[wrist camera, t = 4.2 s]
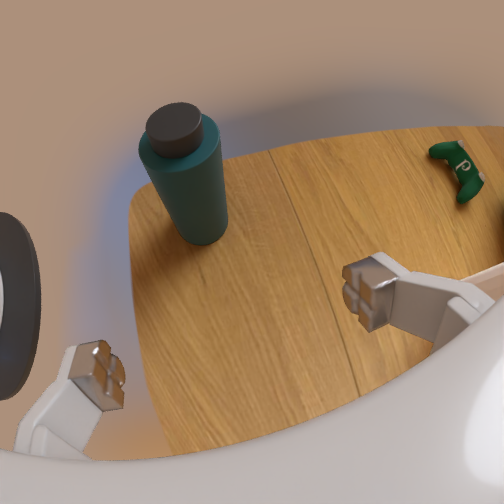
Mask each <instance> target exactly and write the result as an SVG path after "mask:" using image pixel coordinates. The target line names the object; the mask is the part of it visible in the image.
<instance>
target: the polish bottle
mask: <svg viewBox="0 0 504 504" xmlns="http://www.w3.org/2000/svg"><path fill="white" fill-rule="evenodd" d="M138 150H139V156H140V159H141V161H142V163H143V165H144V167H145V169H146V170H147V173H148V175H149V177H150V179H151V181H152V183H153V185H154V186H155V188H156V190H157V192H158V194H159V196H160V198H161V200H162V202H163V204H164V206H165V207H166V209H167V211H168V213H169V215H170V217H171V219H172V220H173V222H174V224H175V226H176V228H177V230H178V231H179V233H180V235H181V236H182V237H183V238H184V239H185V240H186V241H187V242H189V243H191V244H195V245H207V244H210V243H213V242H215V241H216V240H218V239H219V238H220V237H221V236H222V235H223V234H224V232H225V230H226V228H227V225H228V214H227V205H226V195H225V185H224V174H223V164H222V155H221V154H222V153H221V142H220V132H219V129H218V126H217V125H216V123H215V122H214V121H213V120H212V119H211V118H210V117H208V116H206V115H204V114H201V112H200V110H199V109H198V108H197V107H196V106H194V105H192V104H189V103H183V102H180V103H172V104H168V105H166V106H163V107H161V108H159V109H158V110H156V111H155V112H154V113H153V114H152V115H151V116H150V117H149V119H148V120H147V123H146V131H145V132H144V134H143V135H142V138H141V140H140V143H139V149H138Z"/></svg>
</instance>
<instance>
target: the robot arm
mask: <svg viewBox="0 0 504 504" xmlns="http://www.w3.org/2000/svg"><path fill="white" fill-rule="evenodd" d="M342 277H343V278H344V279H345V280H346V282H345V284H344V286H343V288H342V291H343V298H344V302H345V304H346V306H347V308H348V309H349V310H350V312H351V313H354V314H357V315H359V319H358V321H359V322H360V323H361V324H362V326H363V327H364V328H365V329H366V330H367V331H368V332H369V333H370V332H372V331H374V330H376V329H378V328H380V327H382V326H385V325H387V324H390V325H392V326H394V327H397V328H399V329H401V330H404V331H406V332H409V333H411V334H413V335H416V336H418V337H421V338H423V339H425V340H428V341H430V342H433V343H434V344H433V346H432V349H431V352H430V355H429V356H428V357H427V358H426V359H424V360H423V361H421V362H420V363H418V364H417V365H415V366H413V367H412V368H410V369H409V370H407V371H406V372H404V373H402V374H401V375H399V376H397V377H396V378H394V379H392V380H391V381H389V382H387V383H385V384H383V385H382V386H380V387H378V388H376V389H374V390H373V391H371V392H369V393H367V394H365V395H363V396H361V397H359V398H357V399H355V400H353V401H351V402H349V403H347V404H345V405H342V406H340V407H338V408H336V409H334V410H331V411H329V412H327V413H324V414H322V415H320V416H317V417H315V418H312V419H310V420H307V421H305V422H302V423H300V424H297V425H294V426H291V427H289V428H286V429H283V430H280V431H277V432H274V433H271V434H268V435H264V436H261V437H258V438H254V439H251V440H247V441H244V442H240V443H236V444H232V445H228V446H223V447H219V448H214V449H210V450H205V451H200V452H194V453H188V454H182V455H175V456H167V457H159V458H149V459H137V460H115V461H114V460H113V461H93V460H92V459H91V458H90V457H88V456H87V455H85V454H84V453H82V452H83V451H84V449H85V447H86V445H87V442H88V441H89V439H90V437H91V435H92V433H93V431H94V429H95V428H96V426H97V424H98V422H99V420H100V418H101V416H102V414H103V412H104V411H111V410H117V409H123V403H124V392H123V391H122V389H121V387H122V386H123V385H124V383H125V371H124V367H123V365H122V363H121V361H120V360H119V358H118V357H117V356H115V355H113V354H111V353H110V352H111V347H110V346H109V345H108V343H107V342H106V341H104V340H98V341H94V342H89V343H84V344H80V345H75V346H70V347H68V348H67V349H66V352H65V354H64V357H63V360H62V363H61V366H60V369H59V373H58V376H57V380H56V381H54V382H52V383H51V384H50V386H49V387H48V388H47V389H46V390H45V392H44V393H43V394H42V395H41V396H40V398H39V399H38V400H37V401H36V402H35V403H34V405H33V406H32V407H31V408H30V409H29V411H28V412H27V413H26V414H25V416H24V417H23V418H22V419H21V421H20V422H19V424H18V428H17V432H16V437H15V442H14V447H13V451H8V450H4V449H0V504H504V294H503V295H502V296H501V297H500V298H499V299H498V300H497V301H494V300H493V299H492V298H491V297H489V296H488V295H487V294H485V293H484V292H483V291H482V290H480V289H479V288H478V287H476V286H475V285H474V284H472V283H468V282H463V281H459V280H454V279H450V278H445V277H440V276H435V275H431V274H426V273H421V272H416V271H413V272H409V271H408V270H407V269H405V268H404V267H403V266H401V265H400V264H399V263H397V262H396V261H395V260H393V259H392V258H390V257H389V256H388V255H386V254H385V253H384V252H378V253H375V254H373V255H370V256H368V257H367V258H364V259H362V260H359V261H356V262H354V263H351V264H348V265H346V266H343V270H342ZM3 302H4V296H3V282H2V276H1V272H0V328H1V323H2V316H3Z"/></svg>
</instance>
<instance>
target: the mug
mask: <svg viewBox="0 0 504 504" xmlns="http://www.w3.org/2000/svg"><path fill="white" fill-rule="evenodd" d="M459 281H463V282H468V283H472V284H474V285H475V286H476V287H478V288H479V289H480V290H482V291H483V292H484V293H485V294H487V295H488V296H489V297H491V298H492V299H493V300H494V301H497V300H498V299H499V298H500V297H501V296H502V295H503V294H504V262H502V263H500V264H498V265H496V266H493V267H491V268H489V269H486V270H484V271H481V272H479V273H477V274H474V275H472V276H469V277H466V278H464V279H461V280H459Z"/></svg>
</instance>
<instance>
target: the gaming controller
mask: <svg viewBox="0 0 504 504" xmlns="http://www.w3.org/2000/svg"><path fill="white" fill-rule="evenodd" d="M429 154H430V155H431V157H432V158H435V159H446V160H447V161H448V164H449V166H450V167H451V168H452V169H453V171H454V172H455V174H456V176H457V177H458V179H459V182H460V183H461V184H462V189H461V190H460V192H459V193H458V195H457V200H458V202H459V203H460V204H463V203H466V202H467V201H469V200H471V199H472V198H473V197H475V196H476V195H477V194H478V192H479V191H480V190H481V188H482V186H483V184H484V182H485V176H484V174H483V173H482V172H481V173H479V171H478V169H477V168H476V166H475V164H474V163H473V161H472V159H471V158H470V157H469V155H468V154H467V152H466V151H465V150H464V143H463V141H461V140H459V141H452V142H443V143H438V144H435V145H434V146H432V147H431V148H430V149H429Z"/></svg>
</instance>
